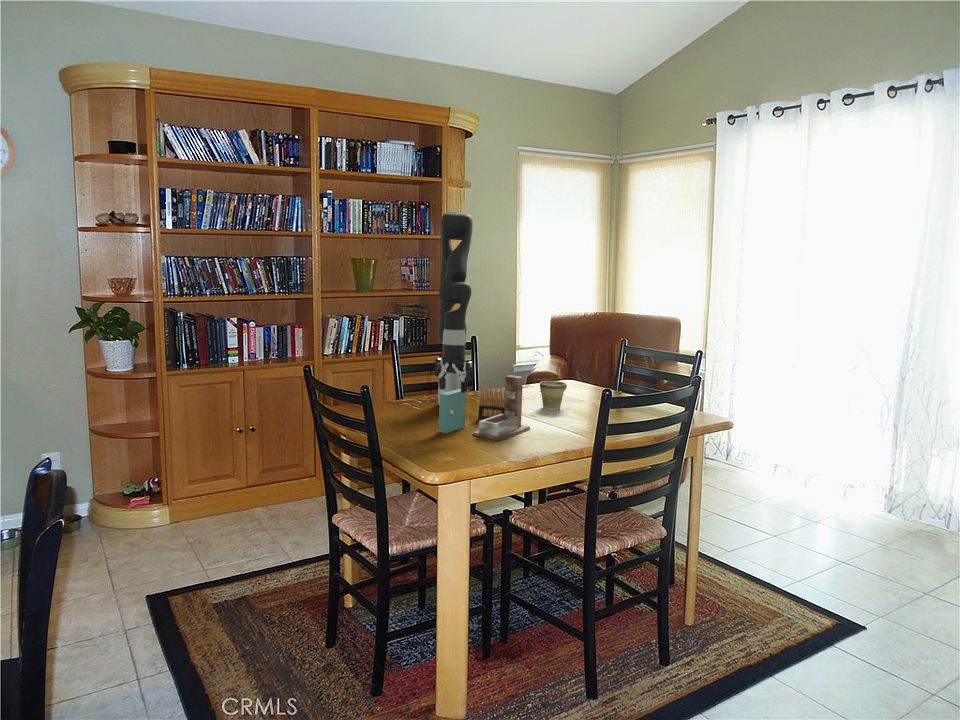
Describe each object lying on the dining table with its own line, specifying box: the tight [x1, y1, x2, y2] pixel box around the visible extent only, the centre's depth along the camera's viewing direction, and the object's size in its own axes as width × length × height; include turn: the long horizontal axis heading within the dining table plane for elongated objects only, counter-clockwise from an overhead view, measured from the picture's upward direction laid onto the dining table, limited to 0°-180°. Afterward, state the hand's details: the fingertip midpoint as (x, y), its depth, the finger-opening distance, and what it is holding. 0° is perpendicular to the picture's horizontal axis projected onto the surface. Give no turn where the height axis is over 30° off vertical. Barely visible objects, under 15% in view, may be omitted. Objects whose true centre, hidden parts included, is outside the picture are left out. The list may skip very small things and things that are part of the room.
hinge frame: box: [471, 375, 531, 442], centre depth 245 cm, size 11×19×18 cm, turn 147°
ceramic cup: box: [539, 380, 567, 411], centre depth 285 cm, size 13×10×10 cm
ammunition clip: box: [477, 385, 505, 420], centre depth 263 cm, size 11×2×12 cm, turn 71°
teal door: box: [438, 389, 467, 434], centre depth 247 cm, size 4×11×13 cm, turn 147°
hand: (453, 390), depth 246 cm, fingers open, 8 cm apart
